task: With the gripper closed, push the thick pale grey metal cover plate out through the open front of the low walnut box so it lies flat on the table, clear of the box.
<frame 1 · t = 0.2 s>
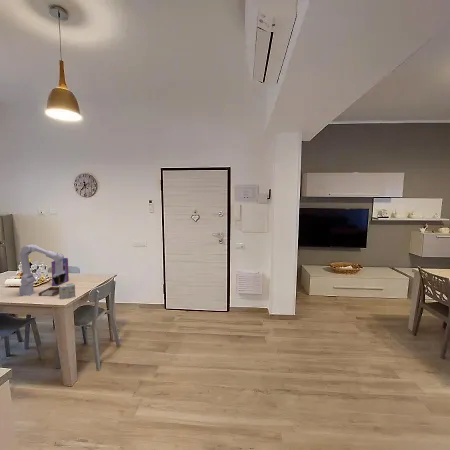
hand: (59, 283, 231), 10 cm above the table, fingers open, 7 cm apart
cover plate: (49, 294, 230), resting on walnut box
cereal box: (60, 283, 262), on the table
walnut box: (52, 293, 234), on the table
light bulb box: (67, 297, 225), on the table
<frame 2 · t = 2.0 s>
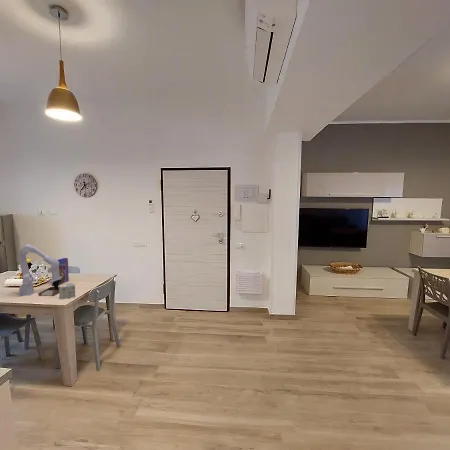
hand: (56, 288, 239), 2 cm above the table, fingers closed
nothing on the table moved.
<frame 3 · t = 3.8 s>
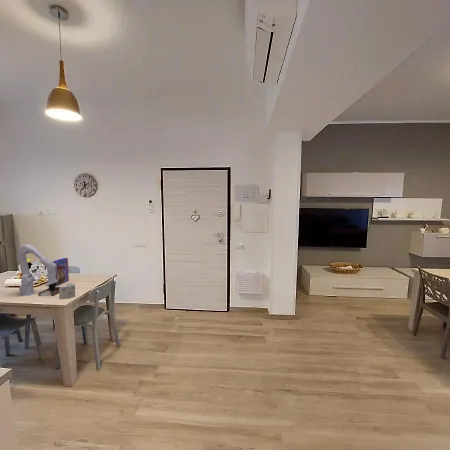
hand: (52, 291, 233), 1 cm above the table, fingers closed
cover plate: (48, 294, 228), point 1 cm above the table, touching gripper
everything else where it was.
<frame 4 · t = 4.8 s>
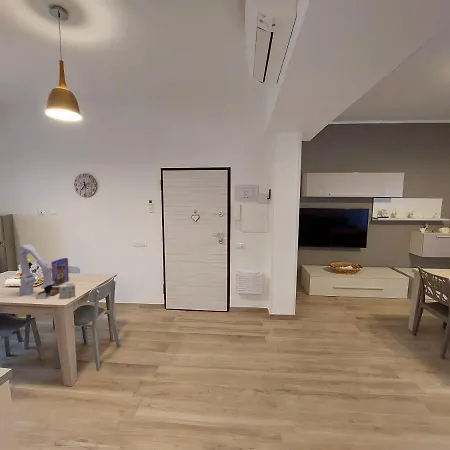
hand: (48, 294, 227), 1 cm above the table, fingers closed
cover plate: (44, 297, 223), on the table, touching gripper, walnut box
everything else where it was.
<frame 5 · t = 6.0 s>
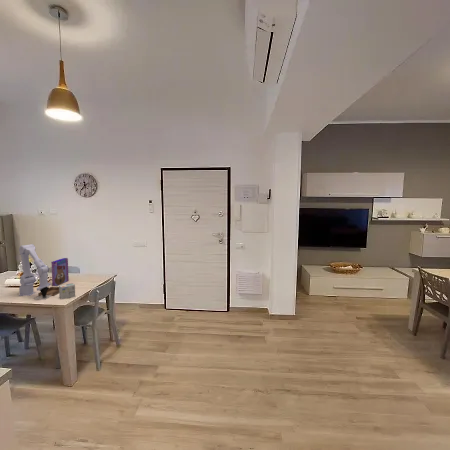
hand: (44, 296, 222), 1 cm above the table, fingers closed
cover plate: (42, 299, 221), on the table
everything else where it was.
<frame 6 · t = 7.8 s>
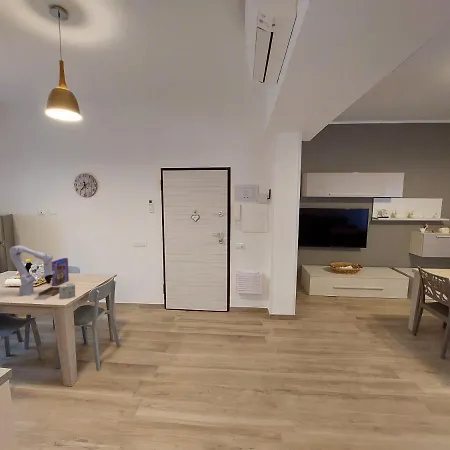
hand: (48, 283, 231), 9 cm above the table, fingers closed
nothing on the table moved.
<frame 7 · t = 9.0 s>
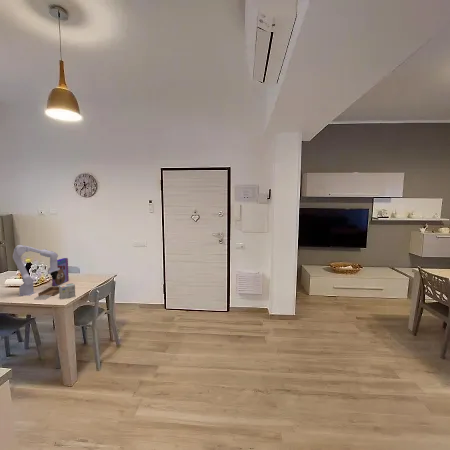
hand: (54, 279, 243), 9 cm above the table, fingers closed
nothing on the table moved.
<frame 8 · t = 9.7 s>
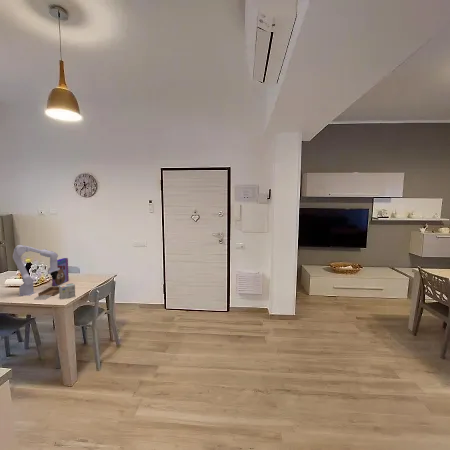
hand: (54, 279, 243), 9 cm above the table, fingers closed
nothing on the table moved.
at the end: cover plate inside the target area (3.8 cm from its centre), on the table; cover plate tilted 0°; cover plate touching table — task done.
